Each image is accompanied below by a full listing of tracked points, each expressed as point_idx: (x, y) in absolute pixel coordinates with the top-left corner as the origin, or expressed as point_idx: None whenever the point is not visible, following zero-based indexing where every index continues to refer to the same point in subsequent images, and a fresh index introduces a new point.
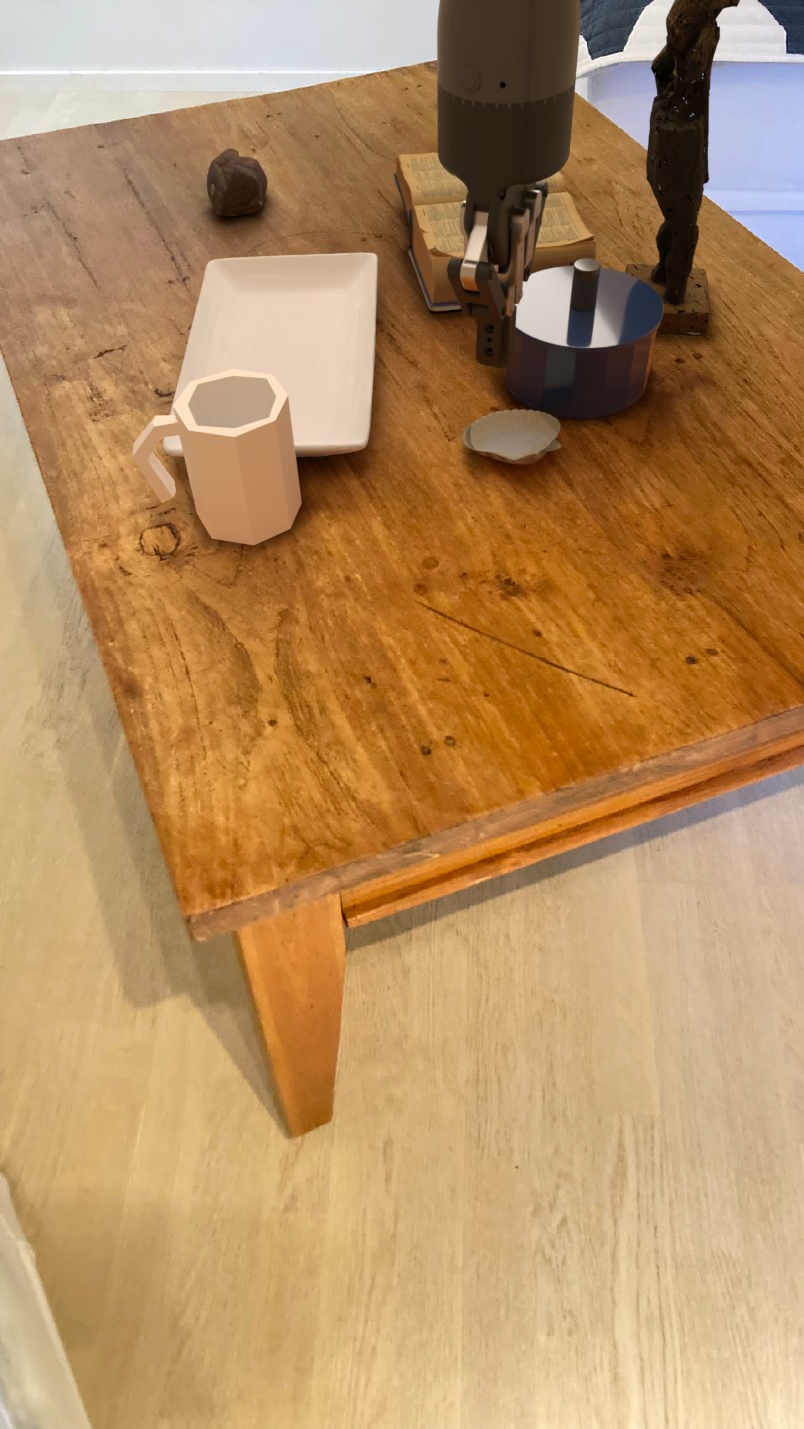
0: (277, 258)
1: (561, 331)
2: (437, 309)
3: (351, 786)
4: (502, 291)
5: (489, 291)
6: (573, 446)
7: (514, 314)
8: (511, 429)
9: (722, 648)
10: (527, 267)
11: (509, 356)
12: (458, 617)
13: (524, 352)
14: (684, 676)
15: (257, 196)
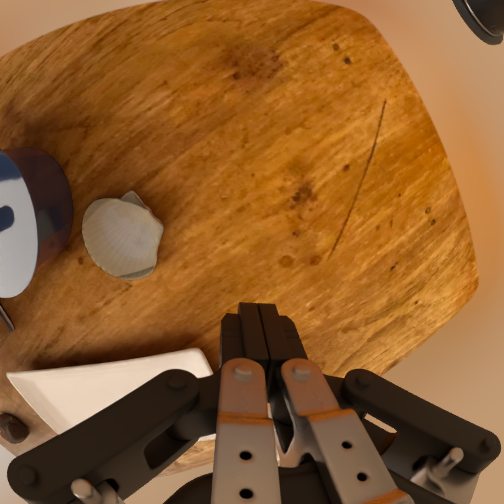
0: (43, 418)
1: (19, 235)
2: (11, 325)
3: (448, 252)
4: (394, 415)
5: (470, 423)
6: (103, 182)
7: (260, 351)
8: (104, 241)
9: (330, 40)
10: (183, 396)
11: (268, 308)
12: (339, 227)
13: (43, 260)
14: (362, 66)
15: (10, 421)
